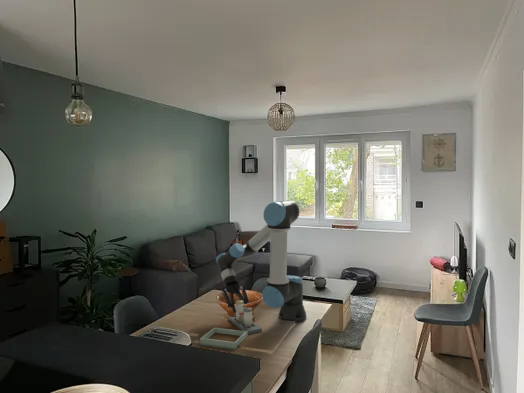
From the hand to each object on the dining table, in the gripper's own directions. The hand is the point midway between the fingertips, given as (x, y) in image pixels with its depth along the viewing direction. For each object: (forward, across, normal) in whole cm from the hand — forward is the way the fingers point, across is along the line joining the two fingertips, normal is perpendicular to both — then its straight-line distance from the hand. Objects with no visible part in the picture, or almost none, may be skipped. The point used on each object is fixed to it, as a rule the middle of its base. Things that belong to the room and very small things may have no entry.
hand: (242, 316), depth 202 cm
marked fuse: (-1, 0, -5) cm, 5 cm away
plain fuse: (+7, 0, +2) cm, 7 cm away
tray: (+12, +16, +5) cm, 20 cm away
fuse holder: (+4, 0, -3) cm, 5 cm away
